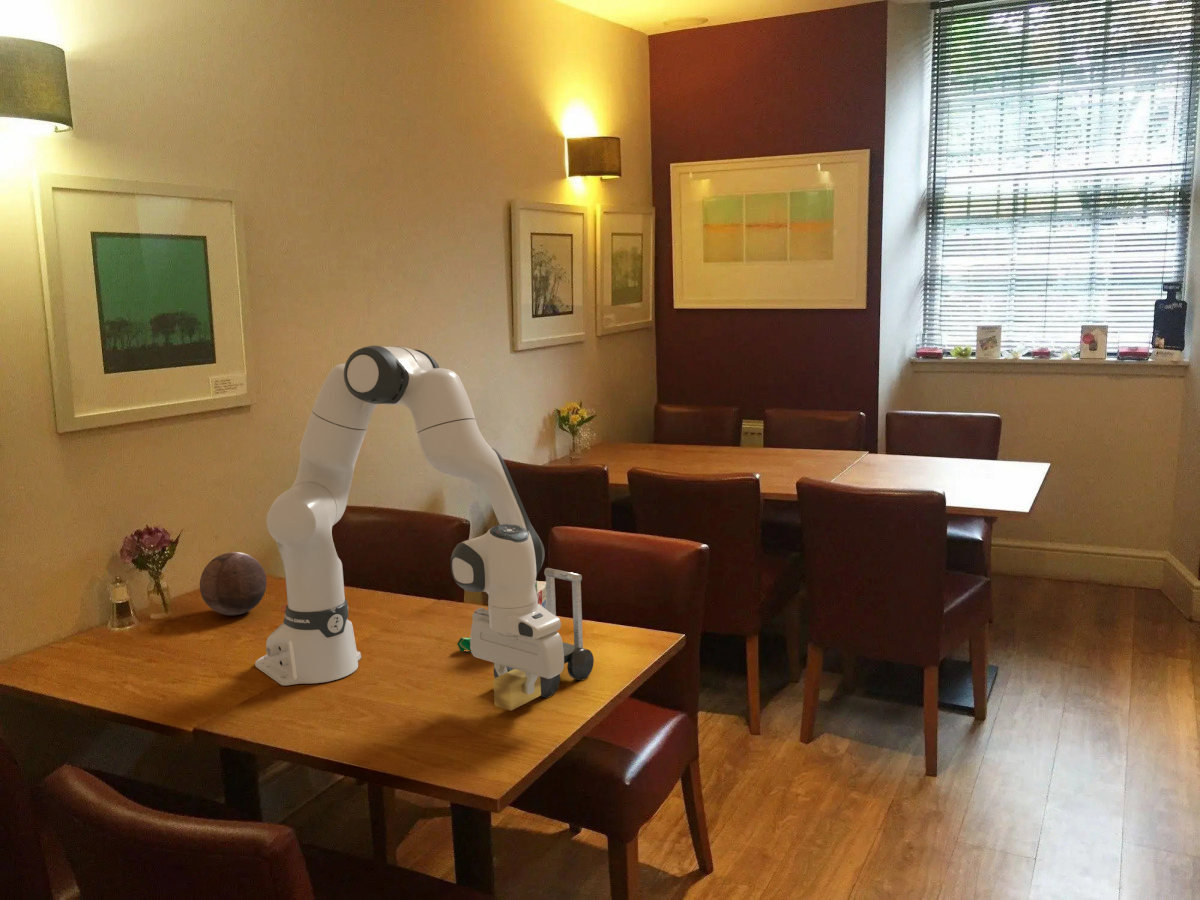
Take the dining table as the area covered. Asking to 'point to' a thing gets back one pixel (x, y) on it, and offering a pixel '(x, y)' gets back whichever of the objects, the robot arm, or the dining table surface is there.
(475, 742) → the dining table surface
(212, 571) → the wooden sphere
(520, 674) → the block
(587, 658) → the trolley
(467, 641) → the candy
